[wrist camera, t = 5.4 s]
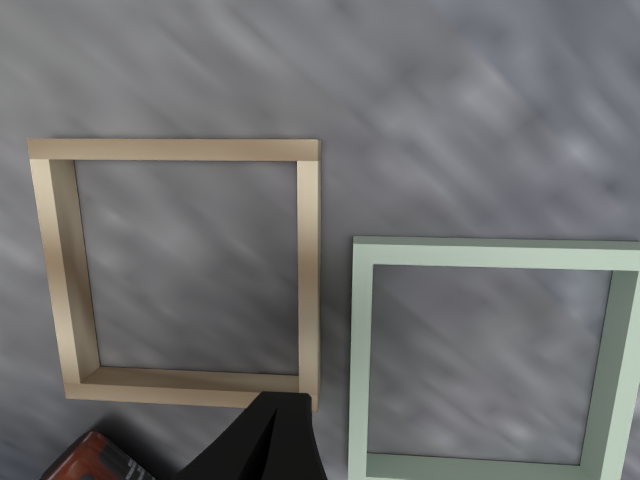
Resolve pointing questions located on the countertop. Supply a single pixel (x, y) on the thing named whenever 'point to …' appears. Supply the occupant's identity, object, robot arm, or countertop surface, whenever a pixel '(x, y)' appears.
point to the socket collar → (74, 290)
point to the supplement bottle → (95, 462)
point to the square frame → (620, 256)
